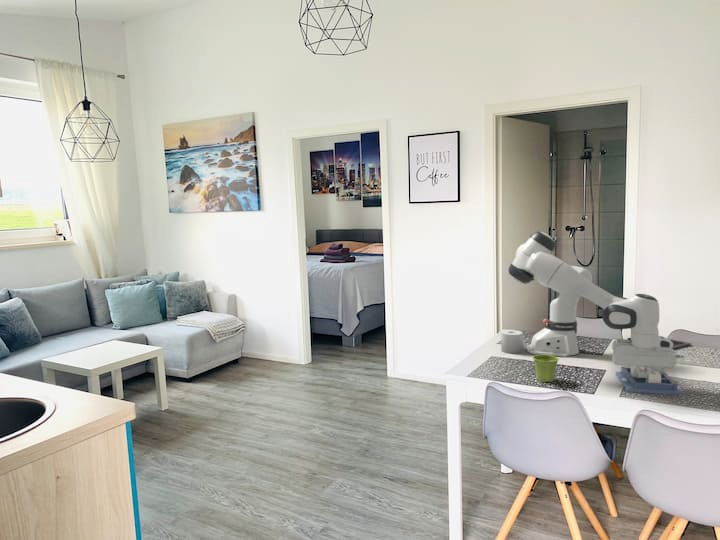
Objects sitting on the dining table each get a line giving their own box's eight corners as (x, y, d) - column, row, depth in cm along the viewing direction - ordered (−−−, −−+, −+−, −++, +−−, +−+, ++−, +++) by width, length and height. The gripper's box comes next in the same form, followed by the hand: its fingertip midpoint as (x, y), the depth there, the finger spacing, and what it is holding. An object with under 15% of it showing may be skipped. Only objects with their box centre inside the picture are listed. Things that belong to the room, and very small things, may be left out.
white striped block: (648, 386, 201) (648, 374, 200) (645, 383, 205) (645, 370, 204) (660, 387, 200) (661, 374, 199) (657, 383, 204) (658, 371, 203)
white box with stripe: (649, 377, 212) (649, 364, 211) (646, 373, 215) (647, 361, 215) (661, 377, 211) (661, 365, 210) (658, 374, 214) (658, 362, 214)
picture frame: (627, 342, 270) (670, 351, 252) (627, 338, 270) (670, 347, 252) (647, 337, 278) (690, 346, 260) (647, 333, 278) (690, 342, 260)
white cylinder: (530, 349, 260) (530, 330, 259) (514, 354, 251) (514, 335, 250) (513, 345, 266) (513, 327, 265) (497, 351, 257) (497, 332, 256)
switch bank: (627, 391, 201) (627, 382, 200) (615, 374, 220) (615, 366, 219) (683, 394, 196) (684, 385, 196) (666, 377, 216) (666, 368, 215)
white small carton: (632, 381, 207) (633, 368, 207) (630, 377, 211) (630, 365, 211) (644, 381, 206) (645, 369, 206) (641, 378, 210) (642, 365, 210)
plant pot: (537, 374, 222) (538, 353, 221) (561, 379, 216) (562, 356, 215) (528, 380, 215) (528, 358, 214) (552, 385, 209) (553, 362, 208)
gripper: (614, 341, 200) (613, 379, 202) (678, 343, 195) (676, 382, 197) (610, 336, 206) (609, 373, 208) (672, 339, 201) (670, 376, 203)
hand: (642, 377), depth 202 cm, fingers closed
